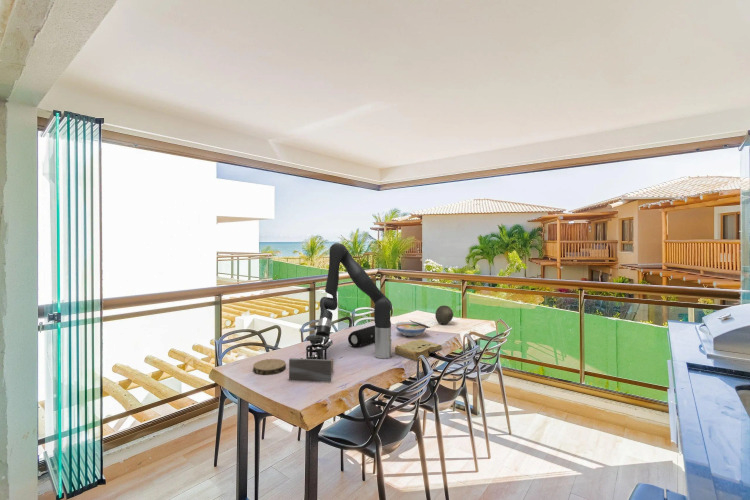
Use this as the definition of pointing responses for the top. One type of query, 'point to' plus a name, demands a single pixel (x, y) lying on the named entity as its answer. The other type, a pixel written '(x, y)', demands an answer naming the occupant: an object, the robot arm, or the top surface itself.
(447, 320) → the dark grey ball
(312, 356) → the french press
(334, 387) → the top surface
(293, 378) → the docking bay
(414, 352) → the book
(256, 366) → the wood slice
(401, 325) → the ramen bowl
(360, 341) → the portable speaker
